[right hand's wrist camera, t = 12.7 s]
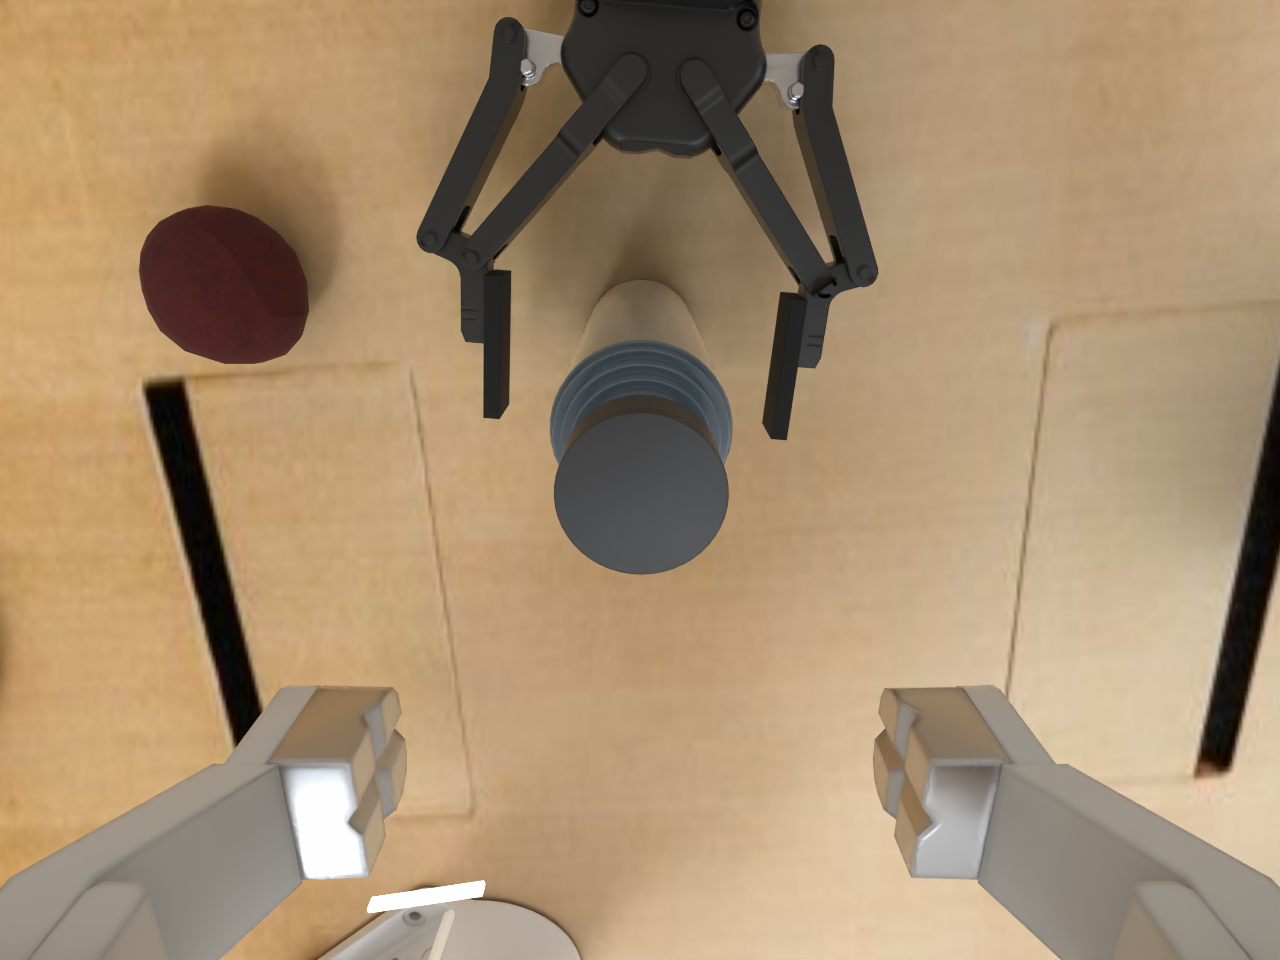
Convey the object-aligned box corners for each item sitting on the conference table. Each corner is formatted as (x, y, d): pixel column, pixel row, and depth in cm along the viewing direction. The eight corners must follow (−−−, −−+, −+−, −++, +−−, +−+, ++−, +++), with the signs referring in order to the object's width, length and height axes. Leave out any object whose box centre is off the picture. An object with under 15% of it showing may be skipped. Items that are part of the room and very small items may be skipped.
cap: (671, 363, 19) (674, 379, 18) (749, 498, 21) (759, 525, 19) (529, 444, 20) (519, 466, 18) (613, 570, 21) (611, 602, 20)
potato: (267, 176, 38) (189, 172, 32) (361, 309, 41) (307, 331, 34) (159, 254, 40) (62, 265, 33) (257, 378, 42) (185, 412, 35)
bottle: (660, 258, 40) (685, 333, 18) (713, 353, 42) (795, 528, 19) (567, 314, 41) (481, 451, 19) (622, 404, 43) (602, 627, 20)
